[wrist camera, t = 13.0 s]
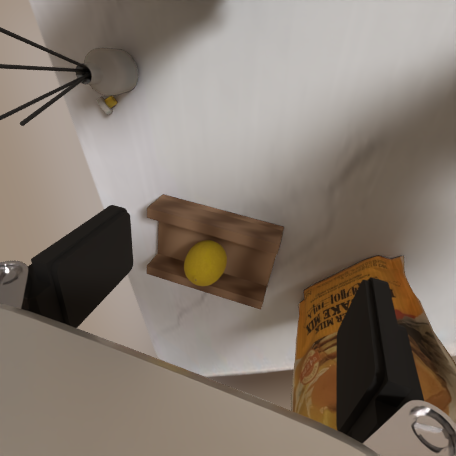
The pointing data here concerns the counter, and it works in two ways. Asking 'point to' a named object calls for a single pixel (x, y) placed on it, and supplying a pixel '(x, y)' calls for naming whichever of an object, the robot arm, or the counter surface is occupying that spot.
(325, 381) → the pancake mix bag
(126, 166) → the counter surface
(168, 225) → the u rest
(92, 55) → the reed diffuser
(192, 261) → the lemon
